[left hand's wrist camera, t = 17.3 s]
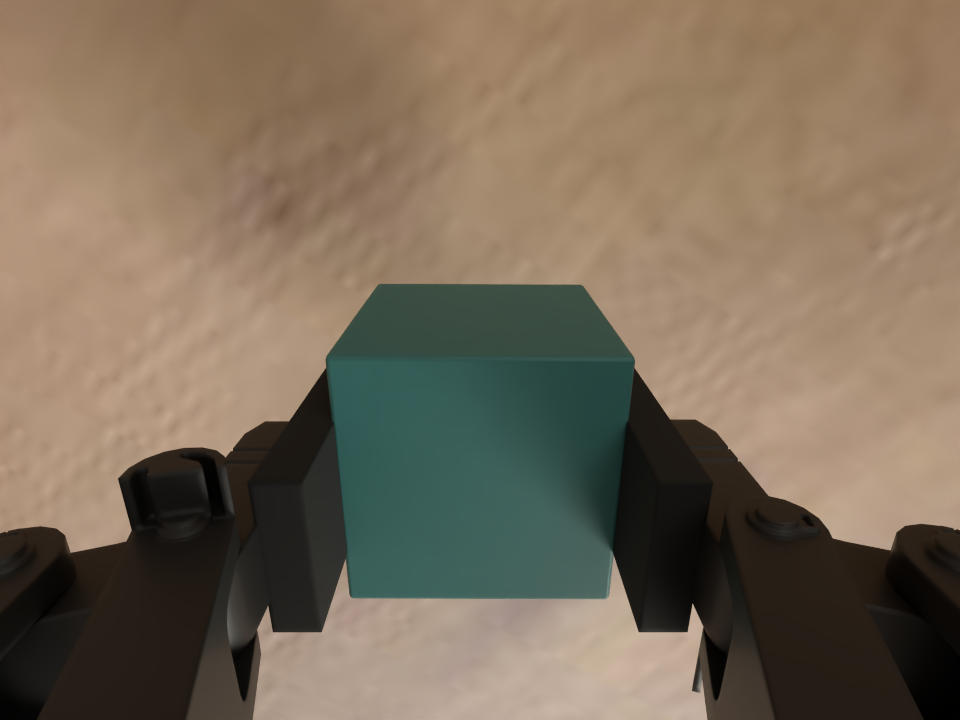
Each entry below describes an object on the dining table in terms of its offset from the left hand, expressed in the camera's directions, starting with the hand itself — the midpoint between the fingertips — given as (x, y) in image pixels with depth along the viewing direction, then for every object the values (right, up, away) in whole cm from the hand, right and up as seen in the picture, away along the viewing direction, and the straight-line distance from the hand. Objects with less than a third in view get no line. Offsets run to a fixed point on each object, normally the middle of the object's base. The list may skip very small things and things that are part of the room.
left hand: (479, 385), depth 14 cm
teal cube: (0, 0, 0) cm, 0 cm away
